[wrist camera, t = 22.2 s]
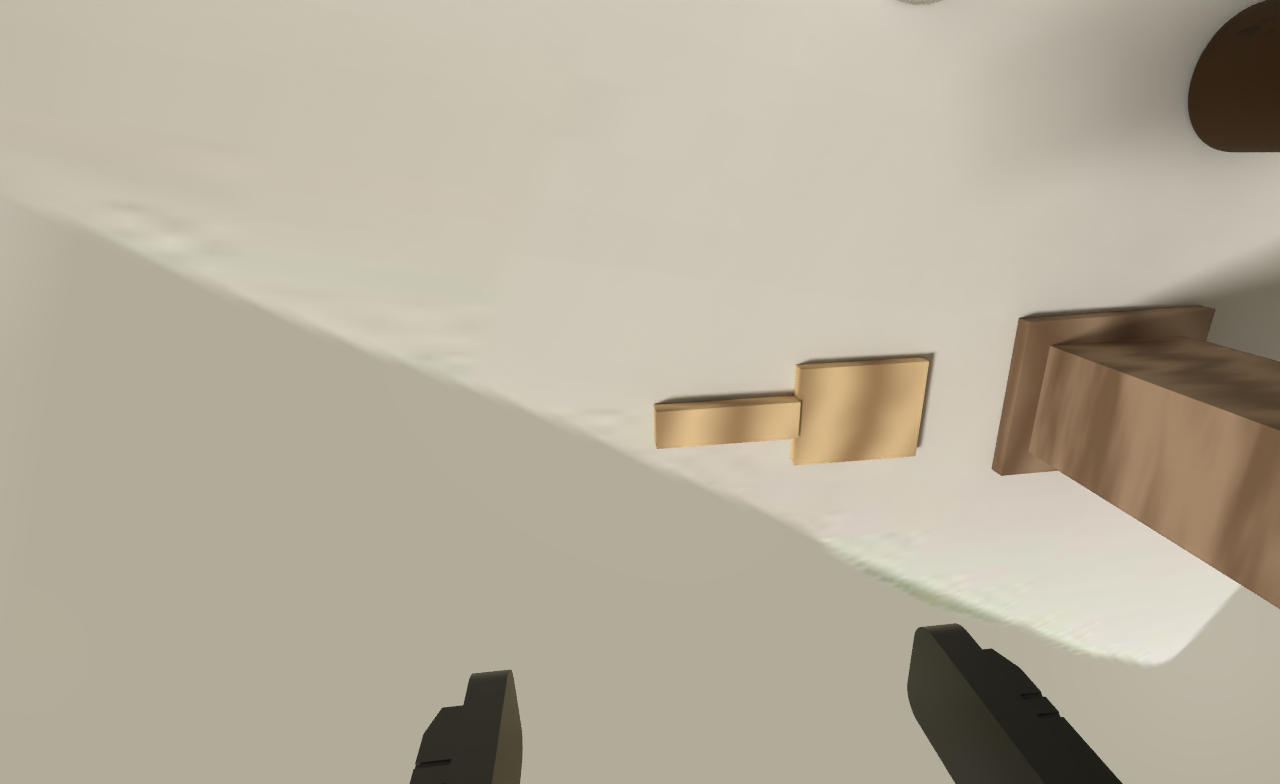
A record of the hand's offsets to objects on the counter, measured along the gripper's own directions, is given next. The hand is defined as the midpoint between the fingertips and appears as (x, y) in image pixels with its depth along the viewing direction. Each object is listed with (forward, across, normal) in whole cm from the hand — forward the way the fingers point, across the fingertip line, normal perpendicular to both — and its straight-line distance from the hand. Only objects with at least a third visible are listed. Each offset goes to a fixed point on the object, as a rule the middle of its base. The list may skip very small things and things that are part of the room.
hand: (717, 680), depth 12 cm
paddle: (+33, -13, +9) cm, 37 cm away
